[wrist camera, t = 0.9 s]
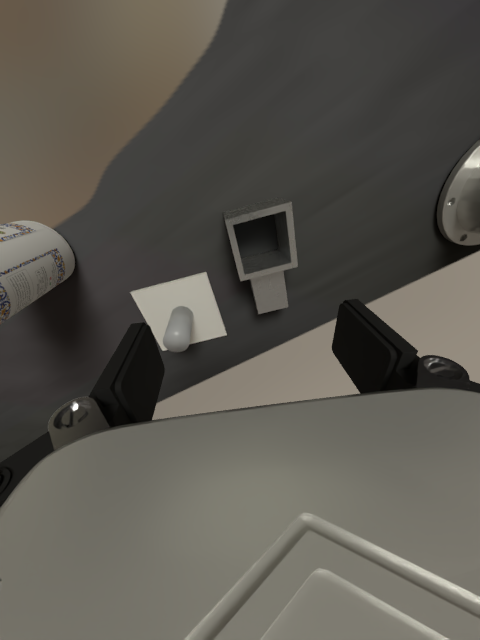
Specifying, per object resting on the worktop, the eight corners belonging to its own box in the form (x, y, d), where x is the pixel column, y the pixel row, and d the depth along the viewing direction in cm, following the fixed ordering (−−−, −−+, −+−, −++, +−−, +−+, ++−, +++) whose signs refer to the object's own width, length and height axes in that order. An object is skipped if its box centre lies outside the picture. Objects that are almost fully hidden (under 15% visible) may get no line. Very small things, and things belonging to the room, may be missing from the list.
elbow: (222, 212, 25) (224, 219, 21) (277, 197, 25) (291, 201, 20) (245, 302, 32) (251, 324, 27) (289, 291, 31) (302, 311, 27)
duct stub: (206, 271, 29) (204, 293, 23) (226, 333, 34) (229, 362, 29) (131, 291, 29) (112, 317, 24) (163, 349, 34) (153, 381, 29)
